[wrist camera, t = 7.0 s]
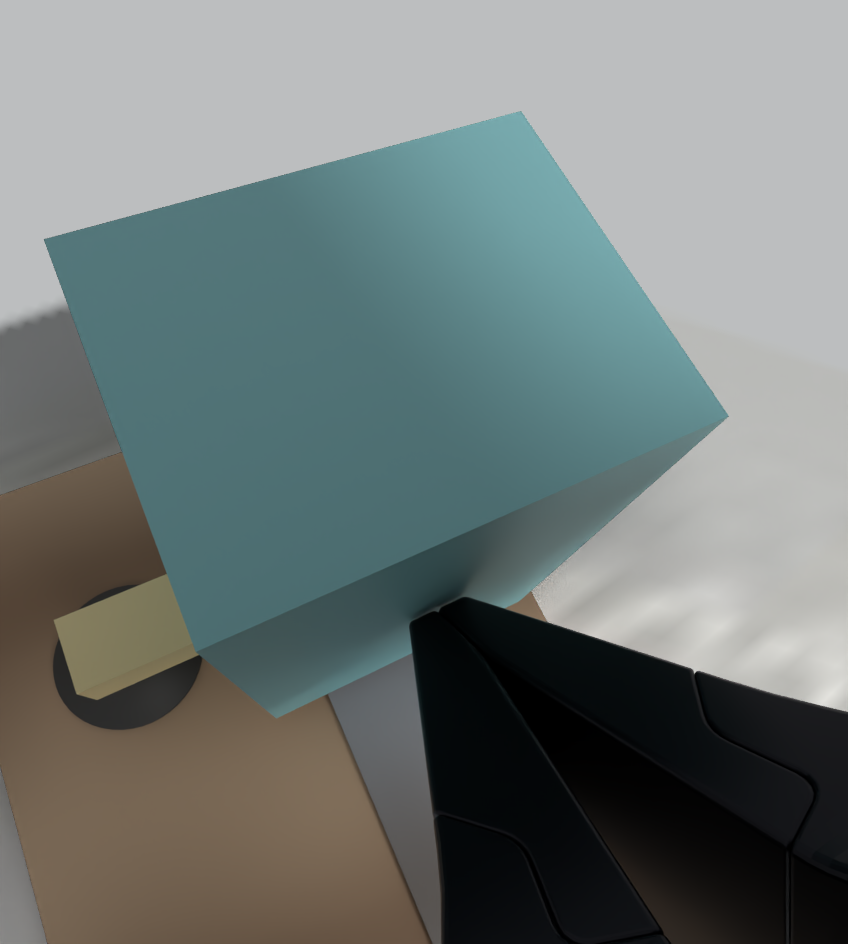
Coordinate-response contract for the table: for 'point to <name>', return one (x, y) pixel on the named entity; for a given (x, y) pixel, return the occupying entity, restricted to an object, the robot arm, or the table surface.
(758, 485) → the table surface
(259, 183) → the block
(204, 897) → the board
